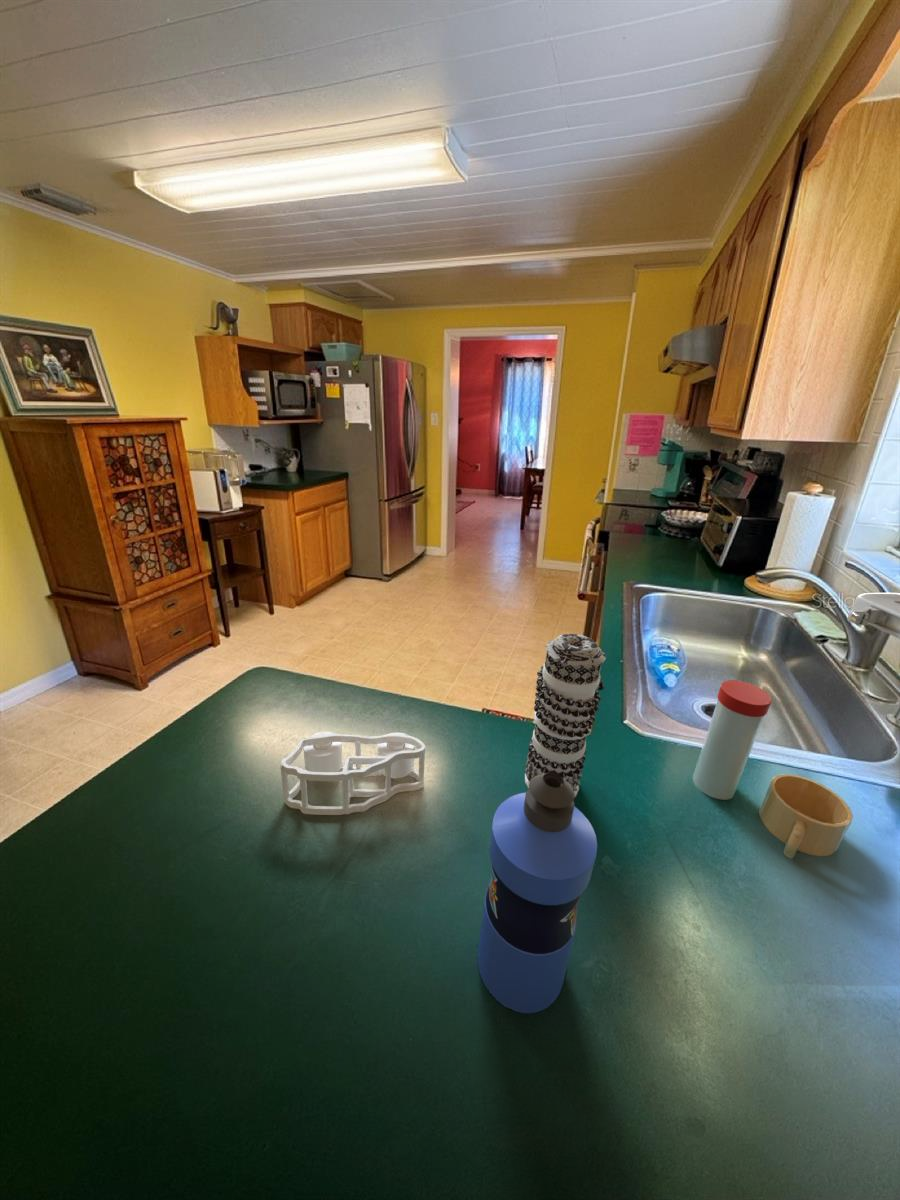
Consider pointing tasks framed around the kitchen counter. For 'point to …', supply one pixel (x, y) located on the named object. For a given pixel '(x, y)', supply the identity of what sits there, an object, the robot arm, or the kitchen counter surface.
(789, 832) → the mug
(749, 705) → the jar
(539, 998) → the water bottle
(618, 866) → the kitchen counter surface
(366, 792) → the white open frame caddy
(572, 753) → the decorative candle
